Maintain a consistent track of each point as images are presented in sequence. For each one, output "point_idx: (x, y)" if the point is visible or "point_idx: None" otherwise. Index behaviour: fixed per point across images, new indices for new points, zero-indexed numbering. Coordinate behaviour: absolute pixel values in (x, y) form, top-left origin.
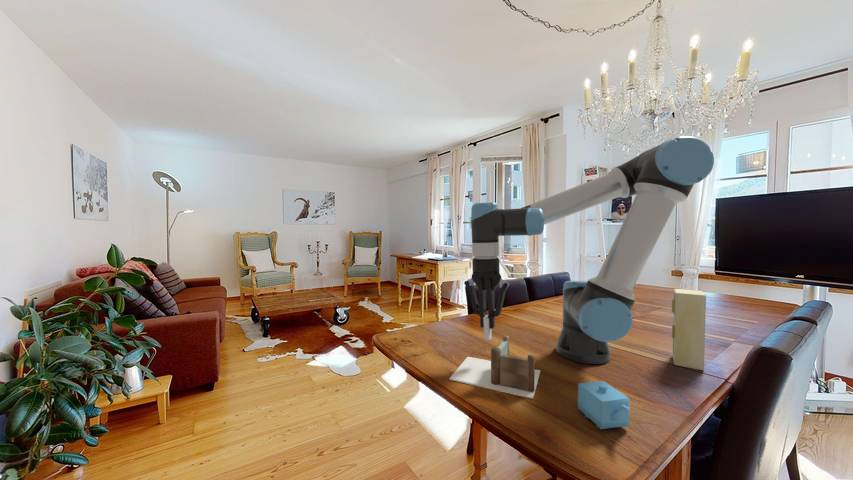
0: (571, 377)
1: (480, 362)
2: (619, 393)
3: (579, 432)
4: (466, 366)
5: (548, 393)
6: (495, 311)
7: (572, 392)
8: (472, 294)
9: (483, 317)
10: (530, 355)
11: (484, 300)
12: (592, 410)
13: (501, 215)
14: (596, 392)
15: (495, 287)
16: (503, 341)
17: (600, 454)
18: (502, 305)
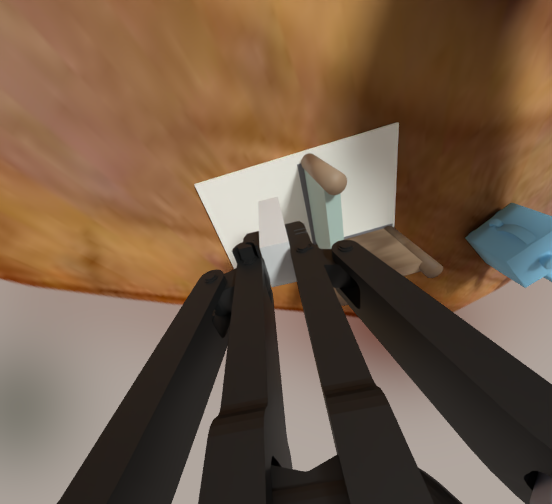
0: (476, 96)
1: (245, 193)
2: None
3: (452, 273)
4: (234, 234)
5: (416, 213)
6: (345, 297)
7: (463, 177)
8: (190, 438)
9: (272, 286)
10: (432, 268)
11: (272, 349)
12: (492, 262)
13: None
14: (528, 270)
15: (446, 493)
16: (328, 201)
17: (467, 290)
18: (394, 273)
